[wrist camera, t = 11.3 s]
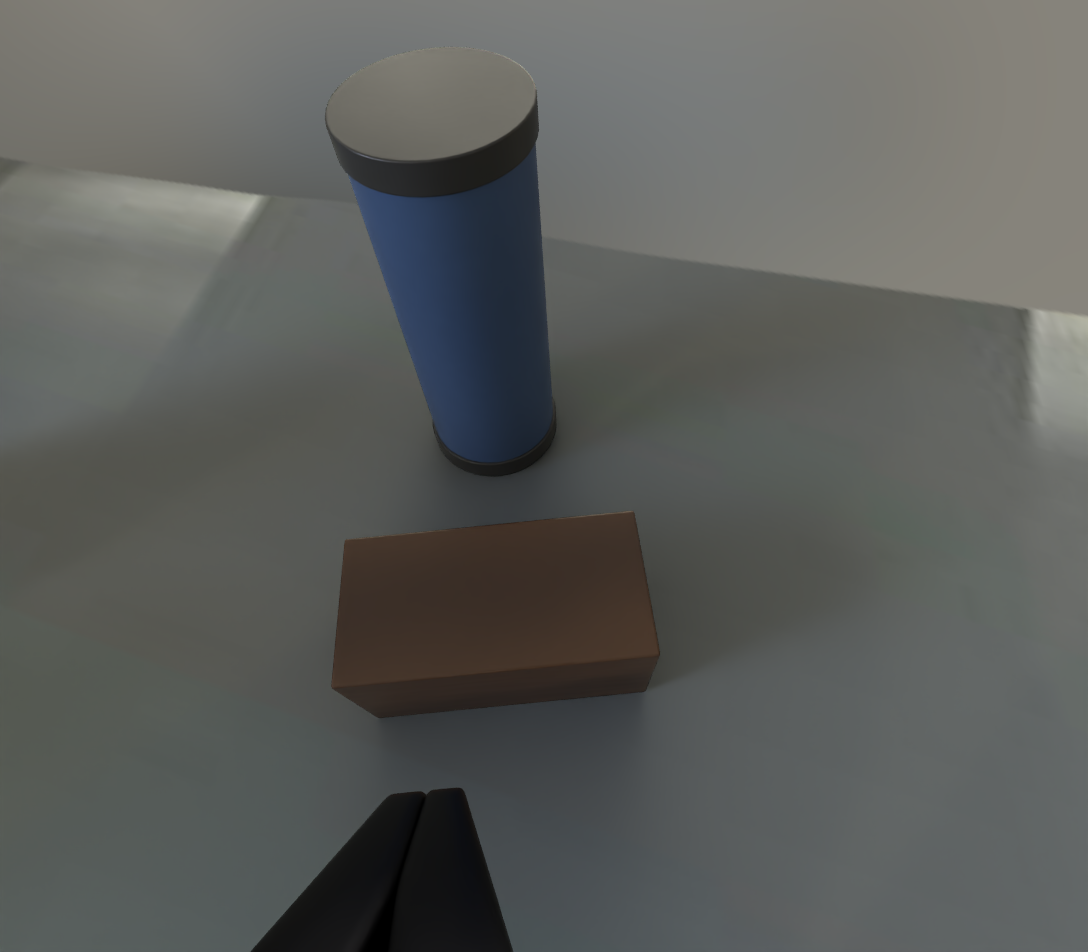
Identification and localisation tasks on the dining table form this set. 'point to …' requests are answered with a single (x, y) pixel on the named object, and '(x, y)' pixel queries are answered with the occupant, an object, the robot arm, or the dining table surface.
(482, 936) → the robot arm
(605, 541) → the walnut block
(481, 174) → the tube
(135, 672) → the dining table surface
